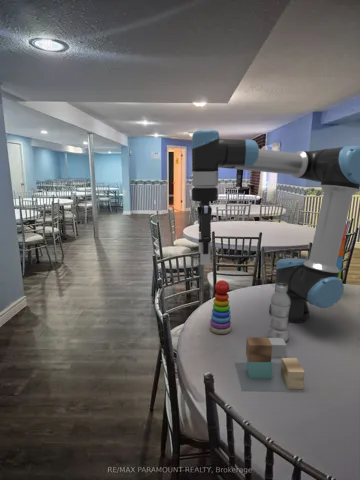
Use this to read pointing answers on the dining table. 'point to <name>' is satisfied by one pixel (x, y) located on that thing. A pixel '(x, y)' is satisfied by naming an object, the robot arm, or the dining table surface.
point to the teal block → (259, 369)
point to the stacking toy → (221, 309)
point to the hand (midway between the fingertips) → (204, 258)
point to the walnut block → (258, 349)
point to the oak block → (292, 373)
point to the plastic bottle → (280, 312)
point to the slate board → (263, 380)
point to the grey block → (278, 347)
